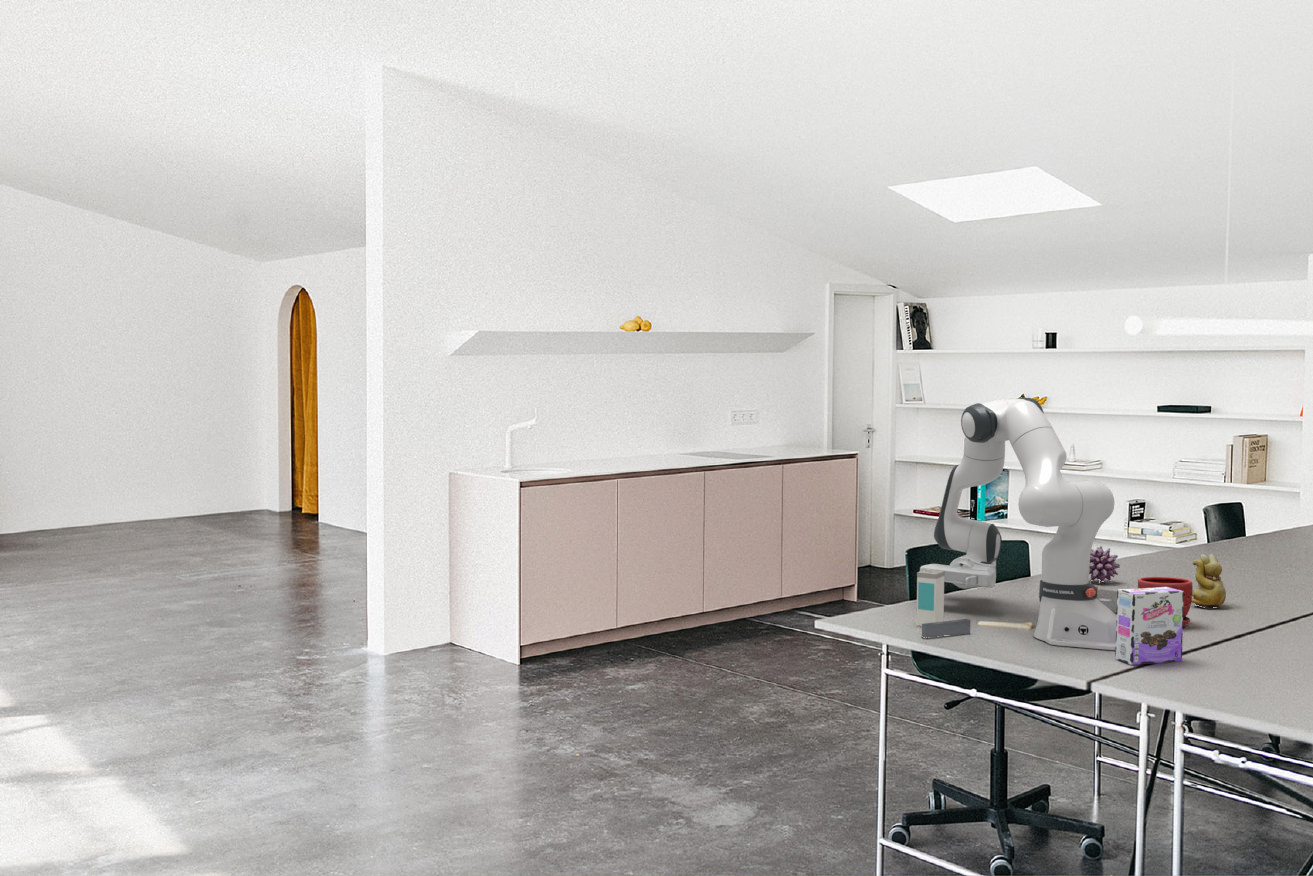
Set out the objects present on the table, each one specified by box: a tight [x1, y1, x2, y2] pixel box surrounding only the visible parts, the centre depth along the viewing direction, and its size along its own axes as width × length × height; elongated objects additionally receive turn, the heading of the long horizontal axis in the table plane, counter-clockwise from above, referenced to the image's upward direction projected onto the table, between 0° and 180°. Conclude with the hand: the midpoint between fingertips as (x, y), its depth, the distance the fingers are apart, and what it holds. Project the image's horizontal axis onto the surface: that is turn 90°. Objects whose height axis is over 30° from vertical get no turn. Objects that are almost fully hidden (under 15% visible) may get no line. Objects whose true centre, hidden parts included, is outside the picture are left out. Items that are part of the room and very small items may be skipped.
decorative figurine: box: [1191, 553, 1227, 608], centre depth 321 cm, size 10×8×15 cm
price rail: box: [921, 618, 971, 638], centre depth 285 cm, size 2×14×4 cm, turn 115°
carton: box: [916, 569, 945, 627], centre depth 297 cm, size 5×6×14 cm
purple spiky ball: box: [1089, 545, 1121, 582], centre depth 359 cm, size 12×12×12 cm
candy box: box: [1114, 587, 1184, 666], centre depth 259 cm, size 14×6×16 cm, turn 105°
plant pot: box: [1137, 576, 1194, 627], centre depth 298 cm, size 13×13×12 cm
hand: (947, 579), depth 308 cm, fingers open, 8 cm apart
